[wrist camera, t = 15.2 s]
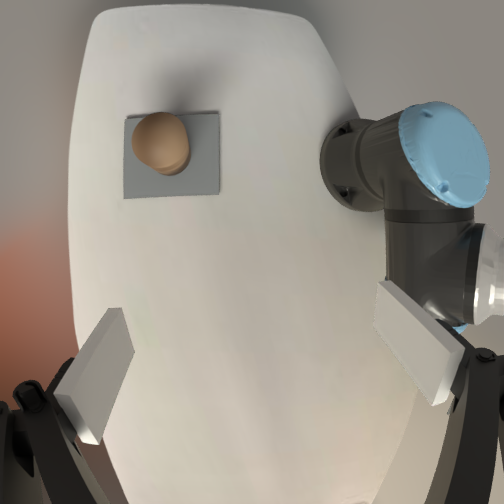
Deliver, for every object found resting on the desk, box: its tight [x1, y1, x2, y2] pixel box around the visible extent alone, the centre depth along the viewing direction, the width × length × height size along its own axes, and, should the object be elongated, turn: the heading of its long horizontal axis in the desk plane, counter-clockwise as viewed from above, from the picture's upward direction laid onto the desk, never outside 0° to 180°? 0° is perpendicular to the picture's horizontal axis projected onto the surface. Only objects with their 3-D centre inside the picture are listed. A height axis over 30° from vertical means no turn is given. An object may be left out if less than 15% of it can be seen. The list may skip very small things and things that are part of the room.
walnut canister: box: [131, 112, 191, 176], centre depth 36 cm, size 6×6×12 cm
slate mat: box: [124, 114, 219, 199], centre depth 42 cm, size 14×12×1 cm
